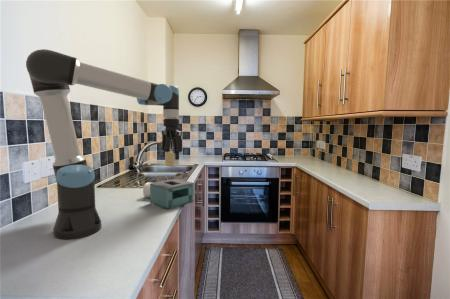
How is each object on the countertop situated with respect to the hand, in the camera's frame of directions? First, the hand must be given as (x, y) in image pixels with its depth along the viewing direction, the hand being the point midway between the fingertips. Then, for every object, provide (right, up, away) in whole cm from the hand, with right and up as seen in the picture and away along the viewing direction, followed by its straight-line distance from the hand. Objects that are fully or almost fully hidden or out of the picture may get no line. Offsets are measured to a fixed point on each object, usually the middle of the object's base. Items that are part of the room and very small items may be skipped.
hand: (172, 165), depth 126 cm
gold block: (0, 0, 0) cm, 0 cm away
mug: (-11, -18, +13) cm, 25 cm away
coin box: (0, -19, +2) cm, 19 cm away
